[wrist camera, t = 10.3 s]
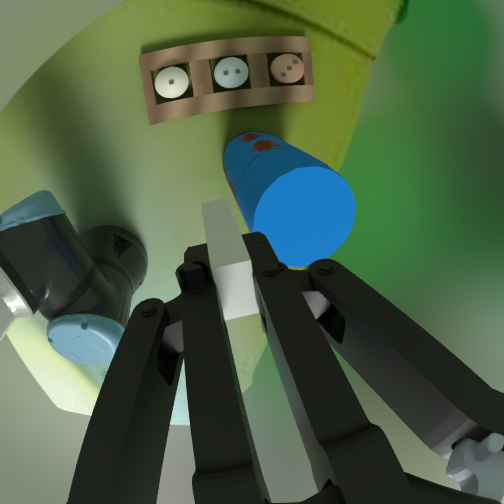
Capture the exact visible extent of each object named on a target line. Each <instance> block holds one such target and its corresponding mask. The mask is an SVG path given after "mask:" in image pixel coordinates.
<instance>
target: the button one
mask: <svg viewBox="0 0 504 504" xmlns="http://www.w3.org/2000/svg"><path fill="white" fill-rule="evenodd" d="M188 83H189V81H188V76H187V74H186V73H185V71H183V70H182V69H180V68H178V67H169V68H166V69H164V70H162V71H161V72H160V73H159V74H158V75H157V77H156V80H155V88H156V90H157V92H158V93H159V94H160V95H161V96H163V97H166V98H176V97H179V96H181V95H182V94H183V93H184V92H185V91H186V90H187V88H188Z"/></svg>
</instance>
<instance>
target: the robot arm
mask: <svg viewBox="0 0 504 504" xmlns="http://www.w3.org/2000/svg"><path fill="white" fill-rule="evenodd" d="M202 212H203V219H204V226H205V233H206V240H207V243H205V244H201V245H196V246H192V247H188V248H187V250H186V252H185V253H184V263H183V264H182V265H180V266H179V267H178V268H177V270H176V273H175V274H176V277H177V280H178V283H179V286H180V288H181V294H180V295H179V296H177V297H176V298H175V299H173V300H171V301H169V302H166V303H163V301H162V300H160V299H157V298H150V299H146V300H144V301H142V302H140V303H139V304H138V305H136V307H135V308H134V310H133V312H132V314H131V316H130V318H129V313H130V307H131V301H132V296H133V294H134V293H135V291H136V290H137V289H138V288H139V287H140V286H141V284H142V283H143V281H144V279H145V276H146V271H147V265H148V260H147V255H146V252H145V249H144V247H143V246H142V244H141V243H140V241H139V240H138V239H137V238H136V237H135V236H134V235H133V234H131V233H130V232H128V231H126V230H124V229H122V228H119V227H116V226H99V227H96V228H93V229H92V230H90V231H88V232H87V233H86V234H85V235H84V236H83V238H82V239H80V237H79V236H78V234H77V233H76V231H75V229H74V228H73V226H72V224H71V223H70V221H69V219H68V218H67V216H66V212H65V211H64V210H62V208H61V207H60V205H59V203H58V202H57V200H56V199H55V197H54V195H53V194H52V193H51V192H49V191H46V190H42V191H39V192H36V193H34V194H32V195H31V196H29V197H27V198H25V199H24V200H22V201H20V202H19V203H17V204H15V205H14V206H12V207H11V208H9V209H8V210H6V211H5V212H4V213H2V214H1V215H0V341H1V339H2V338H3V336H4V335H5V334H6V332H7V331H8V329H9V328H10V327H11V325H12V324H13V323H14V321H15V320H16V319H18V318H31V317H32V316H33V315H34V314H35V313H36V311H37V310H39V311H40V312H41V314H42V315H43V316H44V317H45V318H46V319H47V321H48V322H49V324H48V326H47V336H48V341H49V343H50V345H51V346H52V347H53V349H54V350H55V351H57V352H58V353H59V354H60V355H62V356H63V357H65V358H67V359H69V360H71V361H74V362H77V363H80V364H86V365H103V364H107V363H110V362H111V364H110V366H109V369H108V371H107V374H106V376H105V379H104V382H103V384H102V387H101V390H100V392H99V395H98V398H97V401H96V404H95V407H94V409H93V412H92V415H91V419H90V421H89V424H88V428H87V431H86V434H85V437H84V441H83V444H82V447H81V451H80V454H79V458H78V461H77V465H76V469H75V473H74V477H73V481H72V485H71V489H70V493H69V498H68V502H67V503H66V504H156V502H157V495H158V489H159V482H160V476H161V470H162V463H163V458H164V453H165V447H166V442H167V436H168V431H169V426H170V421H171V415H172V410H173V406H174V401H175V396H176V391H177V386H178V382H179V377H180V372H181V368H182V363H183V359H184V364H185V377H186V389H187V400H188V410H189V419H190V427H191V436H192V442H193V451H194V458H195V466H196V469H195V473H194V474H193V477H192V486H193V494H194V500H195V504H501V503H500V502H501V500H502V498H503V496H504V393H502V392H499V391H497V390H495V389H492V388H491V387H490V386H489V385H488V384H486V383H485V382H484V381H483V380H482V379H481V378H480V377H479V376H478V375H477V374H476V373H474V372H473V371H472V370H471V369H470V368H469V367H468V366H467V365H465V364H464V363H463V362H462V361H461V360H460V359H459V358H457V357H456V356H455V355H454V354H452V352H450V351H449V350H448V349H447V348H446V347H445V346H443V345H442V344H441V343H440V342H439V341H438V340H436V339H435V338H434V337H433V336H432V335H430V334H429V333H428V332H426V331H425V330H424V329H423V328H422V327H421V326H419V325H418V324H417V323H416V322H414V321H413V320H412V319H411V318H410V317H408V316H407V315H406V314H405V313H403V312H402V311H401V310H399V309H398V308H397V307H396V306H395V305H393V304H392V303H391V302H390V301H388V300H387V299H386V298H384V297H383V296H382V295H381V294H379V293H378V292H377V291H375V290H374V289H373V288H372V287H370V286H369V285H368V284H366V283H365V282H364V281H362V280H361V279H360V278H359V277H357V276H356V275H355V274H353V273H352V272H350V271H349V270H348V269H347V268H345V267H344V266H343V265H341V264H340V263H338V262H336V261H334V260H331V259H319V260H316V261H314V262H312V263H311V264H310V266H309V270H291V269H288V267H287V266H286V265H285V264H284V263H282V262H280V261H279V259H278V258H277V256H276V254H275V252H274V250H273V248H272V246H271V245H270V243H269V241H268V239H267V237H266V235H264V234H263V233H261V232H259V231H257V232H253V233H248V234H243V235H241V233H240V230H239V228H238V225H237V223H236V220H235V217H234V215H233V212H232V210H231V207H230V204H229V202H228V199H222V200H217V201H212V202H208V203H203V204H202ZM258 308H259V310H258ZM259 311H260V316H261V323H262V329H263V333H265V334H266V337H267V340H268V343H269V346H270V349H271V352H272V354H273V357H274V360H275V363H276V366H277V369H278V372H279V375H280V378H281V381H282V383H283V387H284V389H285V392H286V395H287V398H288V401H289V404H290V407H291V410H292V413H293V415H294V418H295V421H296V424H297V427H298V430H299V432H300V435H301V438H302V441H303V444H304V447H305V449H306V452H307V455H308V458H309V460H310V464H311V467H312V472H313V477H314V480H315V483H316V486H317V489H318V492H319V493H317V494H315V495H313V496H312V497H310V498H308V499H306V500H304V501H302V502H295V503H271V499H270V496H269V493H268V489H267V487H266V484H265V481H264V478H263V474H262V471H261V467H260V464H259V460H258V457H257V453H256V449H255V445H254V441H253V437H252V434H251V430H250V426H249V422H248V418H247V414H246V410H245V405H244V402H243V397H242V393H241V389H240V385H239V380H238V376H237V372H236V367H235V363H234V358H233V354H232V349H231V344H230V340H229V335H228V330H227V327H226V323H225V320H229V319H233V318H238V317H242V316H246V315H250V314H255V313H259ZM128 320H129V321H128ZM328 342H329V343H330V344H331V345H332V346H333V347H334V348H335V350H336V351H337V352H338V353H339V354H340V355H341V356H342V357H343V358H344V359H345V360H346V361H347V362H348V363H349V365H350V366H351V367H352V368H353V369H354V370H355V371H356V372H357V373H358V374H359V375H360V376H361V377H362V378H363V379H364V380H365V381H366V383H367V384H368V385H369V386H370V387H371V388H372V389H373V390H374V391H375V392H376V393H377V394H378V395H379V396H380V397H381V398H382V399H383V401H384V402H385V403H386V404H387V405H388V406H389V407H390V408H391V409H392V410H393V411H394V412H395V413H396V414H397V415H398V416H399V418H401V420H402V421H403V422H404V423H405V424H406V425H407V426H408V427H409V428H410V429H411V430H412V431H413V432H414V433H415V434H416V435H417V436H418V438H419V439H420V440H421V441H422V442H424V444H426V445H427V446H428V447H429V448H430V449H431V450H432V451H434V452H435V453H437V454H438V455H440V456H441V457H443V458H445V459H447V460H449V461H448V465H447V467H446V473H447V475H448V476H450V477H453V478H454V479H455V480H456V481H457V482H458V483H459V484H460V486H461V491H459V490H455V489H452V488H449V487H446V486H442V485H439V484H436V483H433V482H431V481H428V480H425V479H422V478H420V477H417V476H414V475H412V474H409V473H406V472H404V471H403V469H402V467H401V465H400V463H399V461H398V459H397V457H396V455H395V453H394V451H393V449H392V447H391V445H390V443H389V441H388V439H387V437H386V435H385V433H384V432H383V430H382V429H381V428H380V427H379V426H377V425H375V424H372V423H371V422H370V421H369V420H368V418H367V417H366V415H365V413H364V411H363V409H362V407H361V405H360V403H359V401H358V399H357V397H356V395H355V393H354V391H353V389H352V387H351V385H350V383H349V381H348V379H347V377H346V375H345V373H344V371H343V369H342V367H341V366H340V364H339V362H338V360H337V358H336V356H335V354H334V352H333V350H332V348H331V346H330V344H329V343H328Z"/></svg>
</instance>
